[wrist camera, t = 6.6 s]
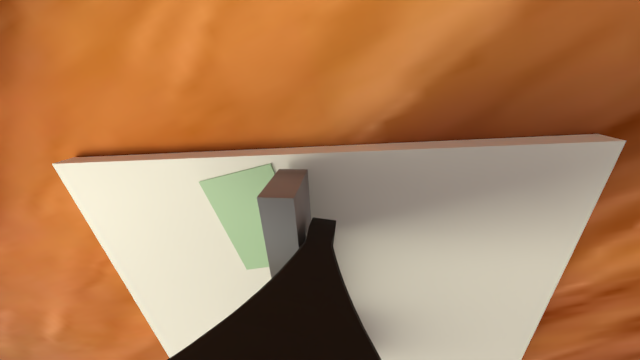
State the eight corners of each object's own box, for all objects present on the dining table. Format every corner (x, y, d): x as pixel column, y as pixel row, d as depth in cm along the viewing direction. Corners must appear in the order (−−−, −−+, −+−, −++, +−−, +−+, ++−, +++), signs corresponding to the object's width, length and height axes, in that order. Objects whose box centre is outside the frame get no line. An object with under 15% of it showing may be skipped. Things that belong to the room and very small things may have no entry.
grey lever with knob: (350, 367, 15) (349, 438, 12) (276, 358, 15) (259, 422, 13) (355, 168, 9) (355, 212, 6) (236, 167, 10) (187, 207, 7)
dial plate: (473, 427, 18) (480, 448, 17) (204, 391, 22) (197, 406, 21) (597, 133, 9) (629, 141, 8) (74, 157, 12) (49, 164, 11)
